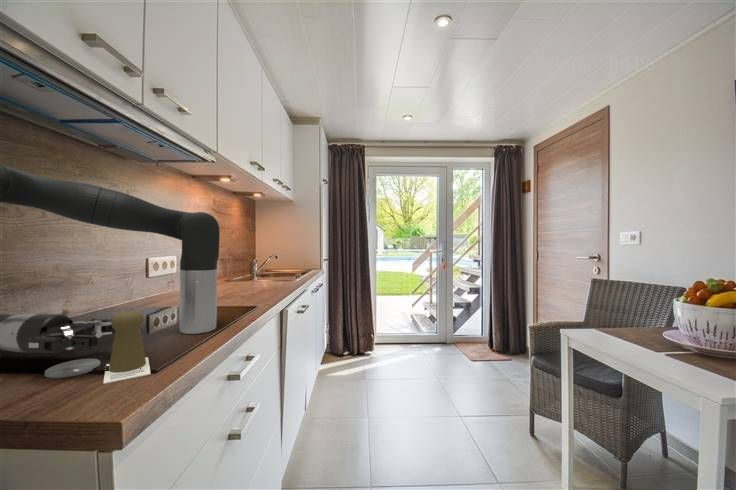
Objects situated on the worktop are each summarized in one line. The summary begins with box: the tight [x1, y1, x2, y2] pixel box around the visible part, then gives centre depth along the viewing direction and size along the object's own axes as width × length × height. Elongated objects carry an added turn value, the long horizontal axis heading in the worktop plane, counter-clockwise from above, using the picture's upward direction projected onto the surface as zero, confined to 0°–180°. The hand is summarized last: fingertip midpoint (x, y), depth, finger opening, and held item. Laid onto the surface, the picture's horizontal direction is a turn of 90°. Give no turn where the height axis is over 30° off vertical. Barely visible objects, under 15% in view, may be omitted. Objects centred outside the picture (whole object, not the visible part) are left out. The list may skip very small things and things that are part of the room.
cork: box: [109, 310, 146, 373], centre depth 64 cm, size 6×6×11 cm
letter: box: [102, 356, 152, 385], centre depth 63 cm, size 10×7×1 cm
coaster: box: [44, 358, 101, 379], centre depth 62 cm, size 8×8×1 cm
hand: (114, 334), depth 64 cm, fingers open, 8 cm apart
